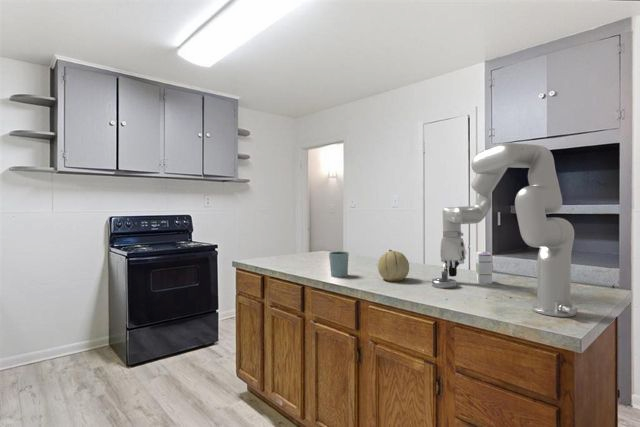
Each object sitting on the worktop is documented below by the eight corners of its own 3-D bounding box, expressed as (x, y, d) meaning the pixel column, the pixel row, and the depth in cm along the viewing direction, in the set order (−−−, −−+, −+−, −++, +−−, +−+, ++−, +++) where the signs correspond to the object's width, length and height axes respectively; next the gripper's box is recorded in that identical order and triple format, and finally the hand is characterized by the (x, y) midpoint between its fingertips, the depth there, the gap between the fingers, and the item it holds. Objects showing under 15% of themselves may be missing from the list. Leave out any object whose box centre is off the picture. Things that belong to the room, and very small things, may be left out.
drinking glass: (352, 276, 190) (351, 253, 190) (333, 278, 187) (333, 254, 186) (343, 273, 200) (343, 250, 199) (326, 275, 196) (325, 252, 196)
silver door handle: (456, 289, 155) (456, 270, 155) (431, 287, 159) (430, 269, 159) (457, 281, 171) (457, 264, 171) (434, 280, 174) (434, 263, 174)
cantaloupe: (395, 286, 166) (395, 253, 166) (371, 281, 178) (371, 250, 177) (416, 282, 176) (416, 250, 175) (391, 277, 187) (391, 247, 187)
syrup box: (492, 286, 166) (492, 253, 165) (478, 285, 167) (478, 253, 166) (489, 283, 171) (489, 251, 171) (475, 283, 172) (475, 251, 172)
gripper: (472, 235, 164) (472, 277, 164) (441, 234, 176) (442, 273, 176) (463, 236, 160) (463, 279, 160) (432, 234, 171) (433, 275, 171)
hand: (452, 276), depth 168 cm, fingers closed
